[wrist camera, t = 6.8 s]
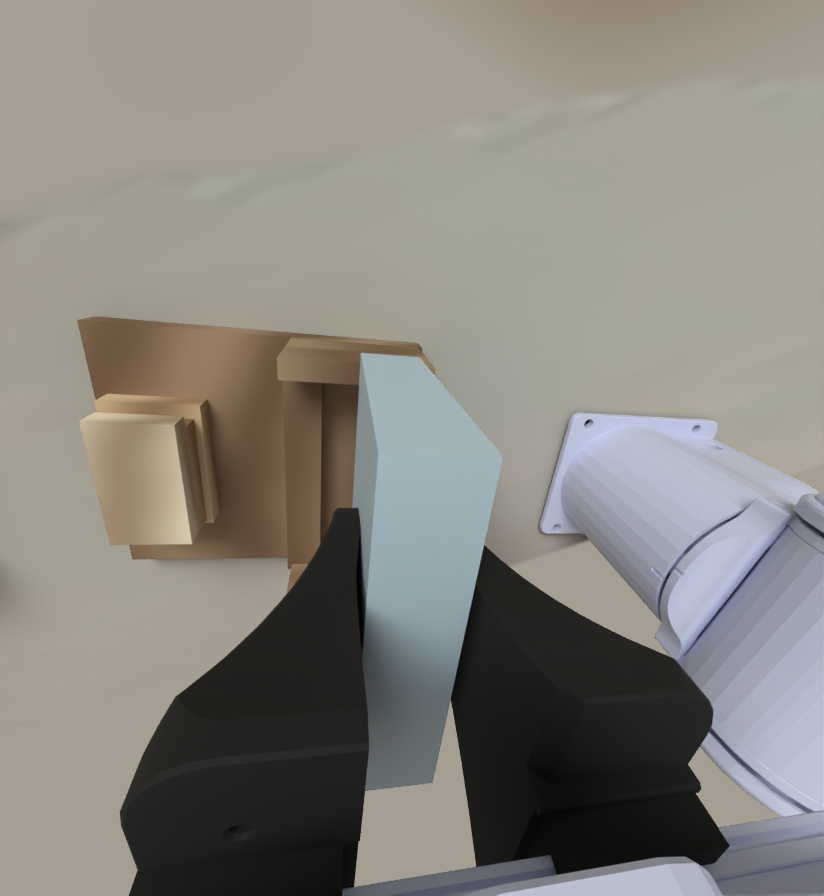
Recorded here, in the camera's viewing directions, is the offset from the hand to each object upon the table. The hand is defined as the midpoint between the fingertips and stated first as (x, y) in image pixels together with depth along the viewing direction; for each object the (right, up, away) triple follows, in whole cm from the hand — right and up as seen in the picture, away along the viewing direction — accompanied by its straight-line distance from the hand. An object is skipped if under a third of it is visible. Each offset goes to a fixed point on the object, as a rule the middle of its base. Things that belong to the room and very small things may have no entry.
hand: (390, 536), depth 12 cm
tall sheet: (-1, +2, +3) cm, 4 cm away
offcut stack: (-11, +2, +7) cm, 13 cm away
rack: (-7, +3, +9) cm, 11 cm away
